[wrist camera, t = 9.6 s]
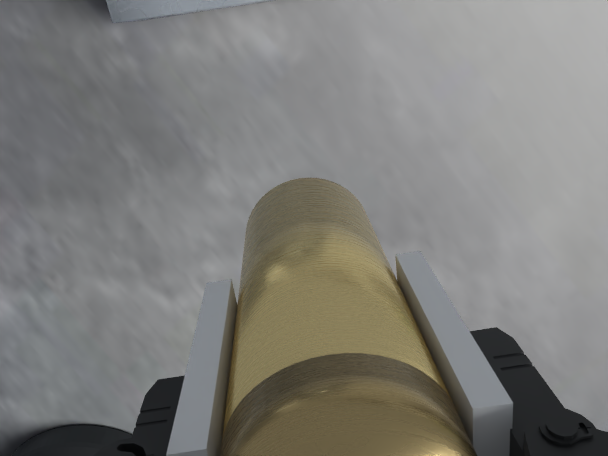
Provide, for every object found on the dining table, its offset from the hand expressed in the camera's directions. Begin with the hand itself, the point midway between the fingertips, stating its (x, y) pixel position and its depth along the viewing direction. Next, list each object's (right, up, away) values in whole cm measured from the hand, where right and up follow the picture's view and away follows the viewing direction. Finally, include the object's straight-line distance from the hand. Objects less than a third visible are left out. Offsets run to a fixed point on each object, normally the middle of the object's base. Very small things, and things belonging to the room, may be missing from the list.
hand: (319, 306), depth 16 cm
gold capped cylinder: (0, +2, +5) cm, 5 cm away
